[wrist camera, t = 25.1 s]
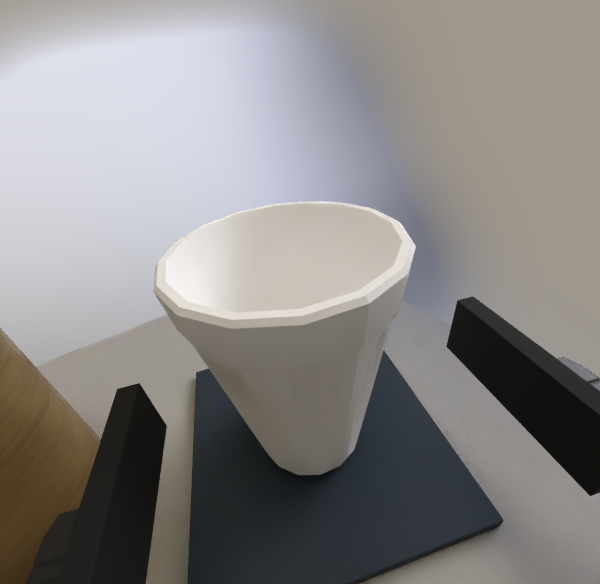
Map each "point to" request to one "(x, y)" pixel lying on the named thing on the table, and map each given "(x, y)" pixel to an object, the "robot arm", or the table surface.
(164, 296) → the cup
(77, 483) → the lamp
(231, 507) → the mat
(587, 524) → the table surface
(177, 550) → the table surface
